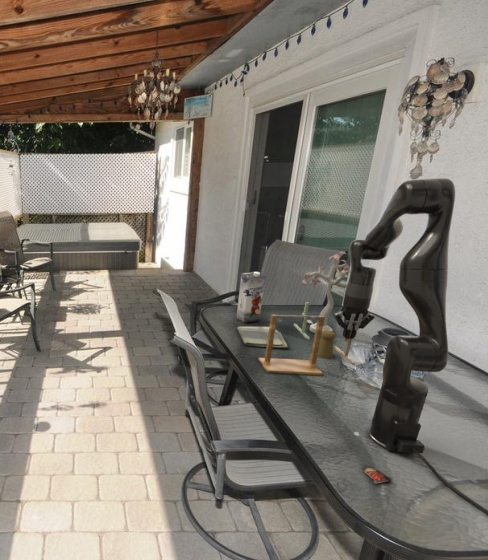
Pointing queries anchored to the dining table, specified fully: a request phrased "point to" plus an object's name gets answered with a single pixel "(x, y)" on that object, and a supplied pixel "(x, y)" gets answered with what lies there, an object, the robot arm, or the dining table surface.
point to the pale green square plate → (260, 337)
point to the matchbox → (377, 475)
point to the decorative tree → (328, 287)
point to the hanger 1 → (304, 322)
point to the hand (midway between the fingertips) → (348, 337)
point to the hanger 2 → (346, 348)
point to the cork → (326, 344)
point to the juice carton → (250, 296)
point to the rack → (292, 364)
